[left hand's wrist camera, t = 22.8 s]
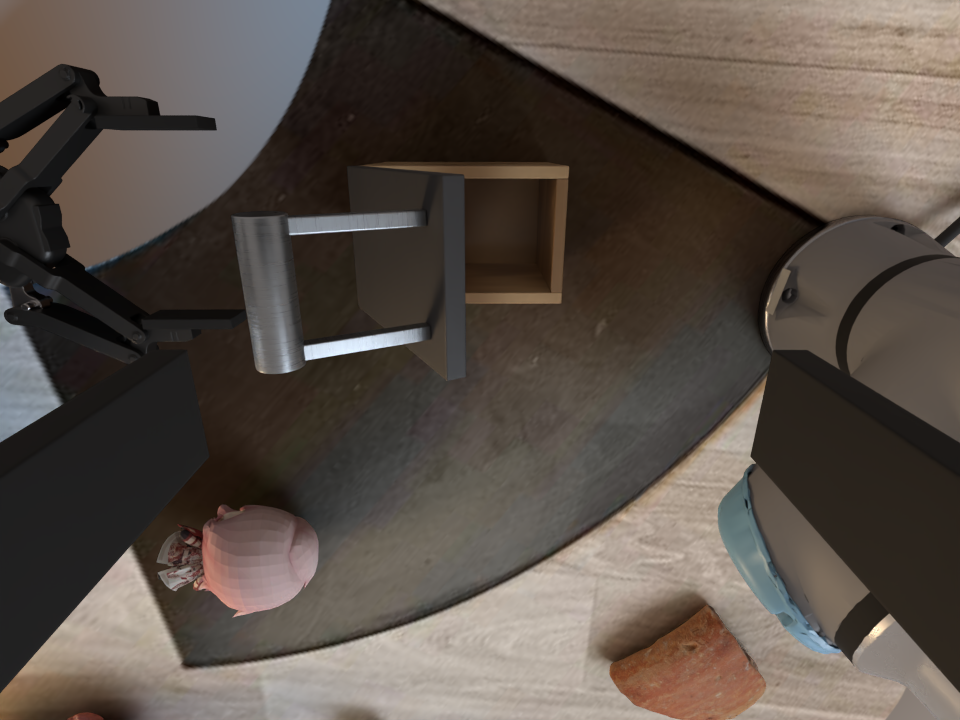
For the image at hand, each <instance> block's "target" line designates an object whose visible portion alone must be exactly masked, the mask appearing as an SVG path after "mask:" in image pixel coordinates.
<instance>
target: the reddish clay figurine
mask: <svg viewBox="0 0 960 720" xmlns="http://www.w3.org/2000/svg"><path fill="white" fill-rule="evenodd" d="M66 720H104V719H103V718H102V717H101V716H99V715H97V714H95V713H89V712H84V713H79V714H76V715H74V716H72V717H70V718H68V719H66Z"/></svg>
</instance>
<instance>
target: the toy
mask: <svg viewBox="0 0 960 720" xmlns="http://www.w3.org/2000/svg"><path fill="white" fill-rule="evenodd" d="M217 514H218V517H217V518H214V519H210V520H208V521H207V522H206V523H205V525H204V527H203V533H202V532H201V531H199V530H197V529H194V528H191V527H187V526H183V525H179V524H177V525H179V527H181V529H184V530H183V531H178V532H175V533H174V534H172V535H171V536H170V537H168V539H167V540H166V541H165V543H164V544H163V546H162V548H161V551H160V553H159V556H158V560H157V562H158V563H164V564H168V566H173V567H170V568H168V569H165V570H163V571H161V572H158V579H162V580H163V582H164V583H165V584H166V586H168V587H169V588H170V589H172V590H174V591H176V590H177V588H179V587H181V586H183V585H185V584H187V583H189V582H191V581H193V580H194V579H196V578H197V580H196V581H195V582H194V584H193V589H194V590H196V591H200V590H202V589H206V590H205V591H212V592H213V593H214V594H215V595H217V597H218V598H219V599H220V600H221V601H222V602H223V603H225V604H226V605H227V606H228V607H230V608H234V609H236V610H239V611H238V612H237V613H236V614H235V615H234V616H233V617H236V616H239V615H245V614H249V613H252V612H255V611H262V610H268V609H272V608H275V607H278V606H280V605H282V604H284V603H286V602H288V601H289V600H291V599H292V598H293V597H295V596H296V595H297V594H298V592H299V591H300V590H301V588H302V587H303V585H304V588H305V587H306V585H307V584H308V582H309V581H310V580H311V578H312V577H313V575H314V573H315V570H316V567H317V563H318V539H317V535H316V533H315V531H314V529H313V528H312V526H311V525H310V524H309V523H308V522H307V521H306V520H305V519H303V518H301V517H295V516H294V515H293V514H291V513H289V512H286V511H284V510H281V509H277V508H273V507H267V506H260V505H245V506H243V507H242V508H240V511H236V510H233V509H231V508H230V507H228V506H227V505H224V504H223V505H221V506H220V507H219V509H218V513H217ZM185 542H186V543H188V544H190V545H193V546H196V547H192V546H190V545H187V544H185ZM197 547H199V548H197ZM304 583H305V584H304Z"/></svg>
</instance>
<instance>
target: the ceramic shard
mask: <svg viewBox="0 0 960 720" xmlns="http://www.w3.org/2000/svg"><path fill="white" fill-rule="evenodd" d="M610 677H611V678H612V680H613V682H614V683H615V685H616V686H617V688H618V689H619V690H620V692H621V693H623V694H624V695H625V696H626V697H627V698H628V699H629V700H630V701H631V702H632V703H633V704H634V705H636V706H639V707H642V708H645V709H647V710H650V711H653V712H656V713H660V714H663V715H667V716H669V717H671V718H676V719H681V720H725V719H732V718H735V717H736V716H737V715H739V714H740V713H742V712H743V711H745V710H746V709H748V708H749V707H751V706H752V705H753V704H754V703H755V702H756V701H757V700H758V699H759V698H760V697H761V696H762V695H763V693H764V691H765V688H766V683H765V681H764V679H763V677H762V676H761V675H760V673H759V672H758V667H757V665H756V664H755V662H754V660H753V659H752V658H751V657H750V656H749V655H748V654H747V653H746V652H745V651H744V650H743V649H742V648H741V647H740V645H739V644H738V642H737V641H736V639H735V637H734V636H733V635H732V634H731V633H730V632H729V631H728V630H727V629H726V628H725V625H724V624H723V622H722V621H721V620H720V618H719V616H718V615H717V614H716V612H715V611H714V609H713V608H712V607H711V606H709V605H705V606H704V607H703V608H702V609H701V610H700V611H699V612H698V613H696V614H695V615H694V616H693V617H691V618H690V619H689V620H688V621H686V622H685V623H683V624H682V625H681V626H679V627H678V628H676V629H675V630H673V631H672V632H670V633H668V634H667V635H665V636H663V637H662V638H660V639H658V640H657V641H656V642H655V643H654V644H653V645H652V646H650V647H649V648H645V649H642V650H640V651H638V652H636V653H634V654H632V655H630V656H628V657H626V658H625V659H622V660H619V661H617V662H613V663H612V664H611V666H610Z"/></svg>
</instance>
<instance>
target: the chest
mask: <svg viewBox="0 0 960 720" xmlns="http://www.w3.org/2000/svg"><path fill="white" fill-rule="evenodd" d="M359 166H370V167H382V168H394V169H406V170H418V171H430V172H442V173H454V174H463V175H464V189H465V303H561V299H562V293H561V292H562V281H563V264H564V247H565V229H566V212H567V195H568V179H567V178H568V177H569V166H566V165H560V164H554V163H550V162H383V163H375V164H367V165H359Z"/></svg>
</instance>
